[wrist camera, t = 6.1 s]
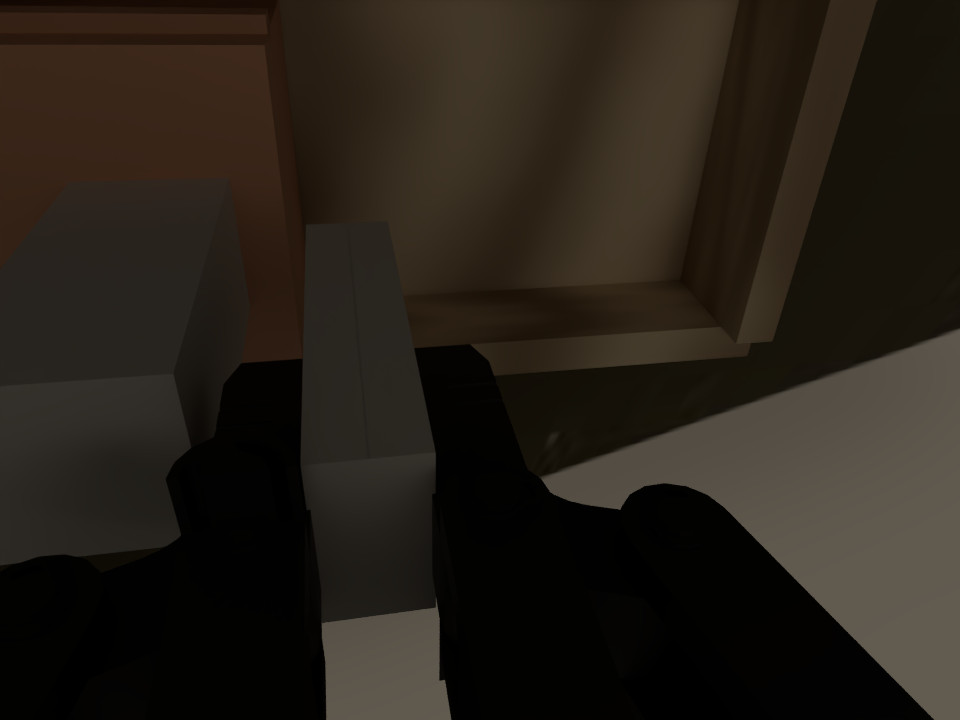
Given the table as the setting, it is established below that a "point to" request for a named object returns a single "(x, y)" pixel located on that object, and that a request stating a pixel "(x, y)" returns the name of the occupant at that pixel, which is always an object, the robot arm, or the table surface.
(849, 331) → the table surface
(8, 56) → the brown block with post
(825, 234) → the table surface
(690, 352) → the bay
